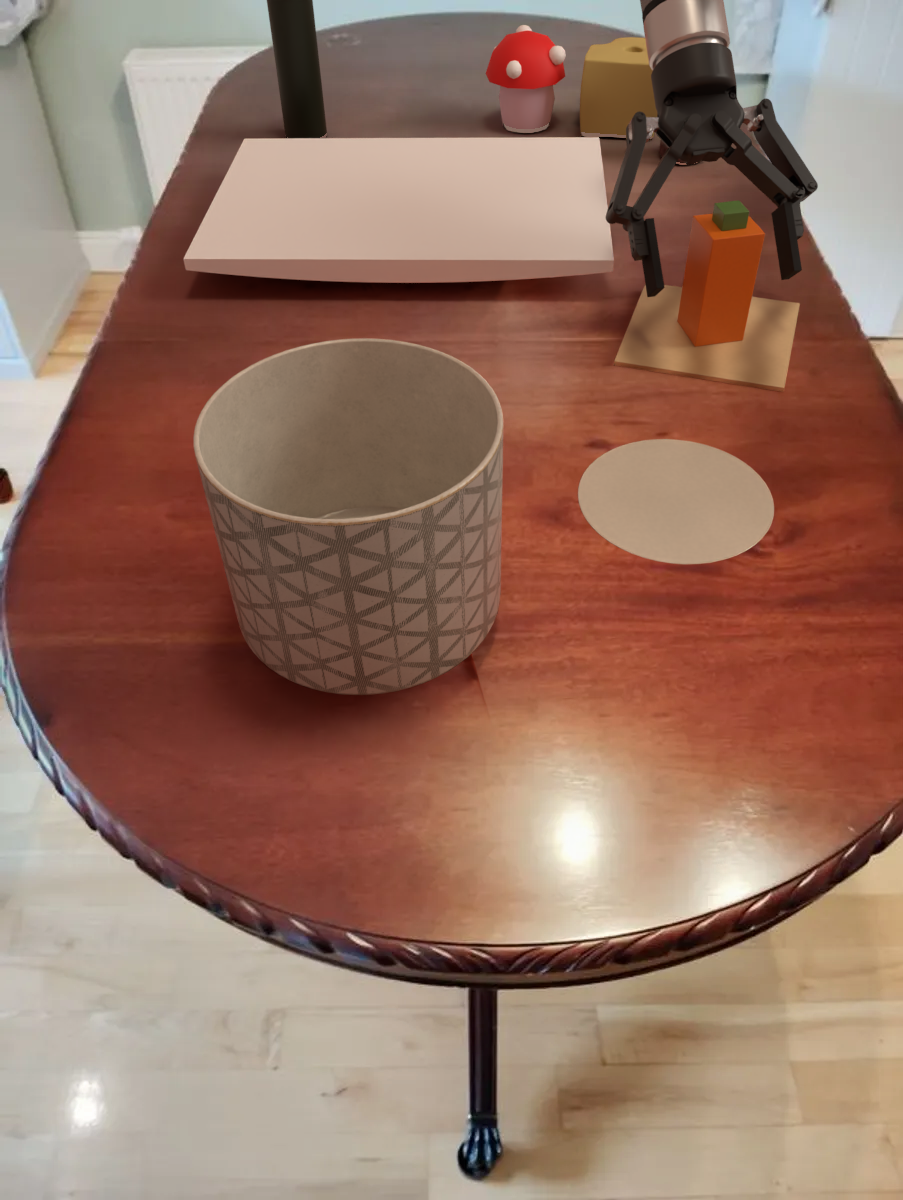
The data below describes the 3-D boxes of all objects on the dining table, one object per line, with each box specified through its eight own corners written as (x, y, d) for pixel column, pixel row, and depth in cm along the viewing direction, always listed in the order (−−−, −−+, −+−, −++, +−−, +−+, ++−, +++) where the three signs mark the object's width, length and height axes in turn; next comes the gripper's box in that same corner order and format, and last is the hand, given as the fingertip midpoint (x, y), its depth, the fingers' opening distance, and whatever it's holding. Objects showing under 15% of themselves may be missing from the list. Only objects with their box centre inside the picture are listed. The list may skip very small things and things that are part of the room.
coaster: (797, 311, 104) (800, 303, 103) (782, 396, 93) (784, 387, 92) (644, 290, 107) (645, 281, 107) (613, 369, 97) (614, 361, 96)
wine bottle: (316, 126, 142) (286, -132, 120) (334, 139, 138) (306, -124, 117) (279, 135, 140) (242, -126, 118) (296, 149, 136) (261, -117, 115)
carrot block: (723, 314, 102) (746, 192, 93) (743, 340, 98) (769, 215, 89) (676, 321, 101) (695, 198, 92) (694, 347, 98) (716, 222, 88)
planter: (522, 554, 79) (530, 355, 66) (466, 746, 66) (462, 545, 53) (297, 520, 83) (262, 323, 70) (202, 695, 70) (137, 495, 57)
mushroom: (558, 142, 136) (564, 45, 127) (479, 138, 137) (479, 42, 129) (566, 112, 143) (571, 19, 134) (490, 109, 145) (491, 17, 136)
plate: (782, 462, 86) (783, 457, 86) (761, 587, 76) (762, 582, 75) (600, 430, 90) (601, 425, 90) (556, 545, 80) (556, 540, 79)
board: (596, 174, 128) (599, 137, 125) (610, 302, 106) (614, 260, 102) (250, 175, 131) (244, 138, 127) (192, 299, 108) (183, 258, 105)
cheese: (585, 110, 143) (590, 33, 136) (661, 114, 142) (670, 36, 135) (576, 139, 136) (581, 59, 129) (656, 143, 135) (665, 63, 127)
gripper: (795, 68, 99) (827, 280, 100) (553, 93, 96) (587, 311, 97) (833, 25, 92) (867, 254, 92) (572, 50, 89) (609, 287, 89)
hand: (724, 284), depth 95 cm, fingers open, 13 cm apart
